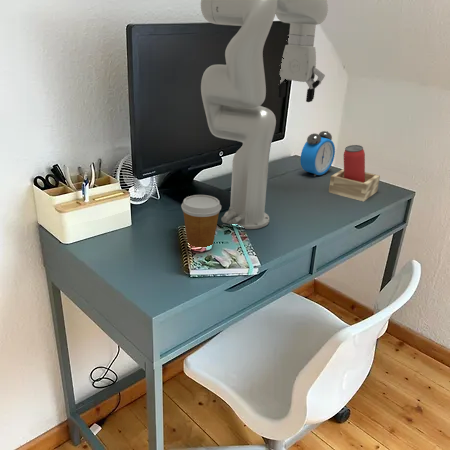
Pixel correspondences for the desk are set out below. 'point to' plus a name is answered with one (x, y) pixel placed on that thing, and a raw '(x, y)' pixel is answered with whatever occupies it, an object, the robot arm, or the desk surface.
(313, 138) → the alarm clock
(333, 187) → the wooden box
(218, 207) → the disposable coffee cup
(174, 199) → the desk surface
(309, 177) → the desk surface
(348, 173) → the beer can
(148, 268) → the desk surface
